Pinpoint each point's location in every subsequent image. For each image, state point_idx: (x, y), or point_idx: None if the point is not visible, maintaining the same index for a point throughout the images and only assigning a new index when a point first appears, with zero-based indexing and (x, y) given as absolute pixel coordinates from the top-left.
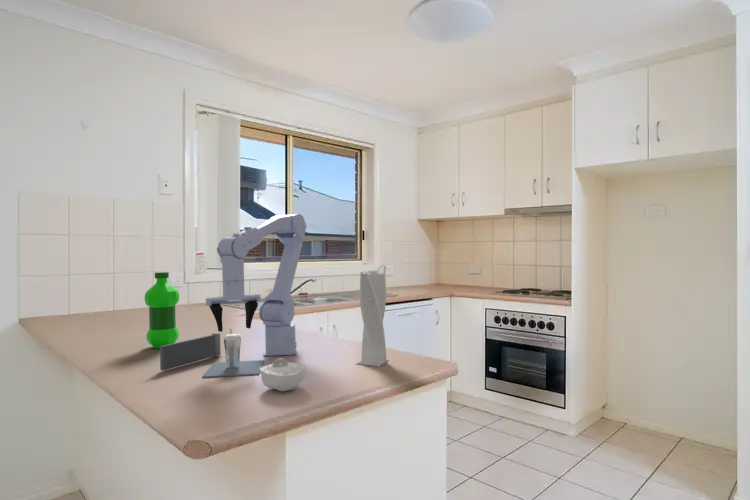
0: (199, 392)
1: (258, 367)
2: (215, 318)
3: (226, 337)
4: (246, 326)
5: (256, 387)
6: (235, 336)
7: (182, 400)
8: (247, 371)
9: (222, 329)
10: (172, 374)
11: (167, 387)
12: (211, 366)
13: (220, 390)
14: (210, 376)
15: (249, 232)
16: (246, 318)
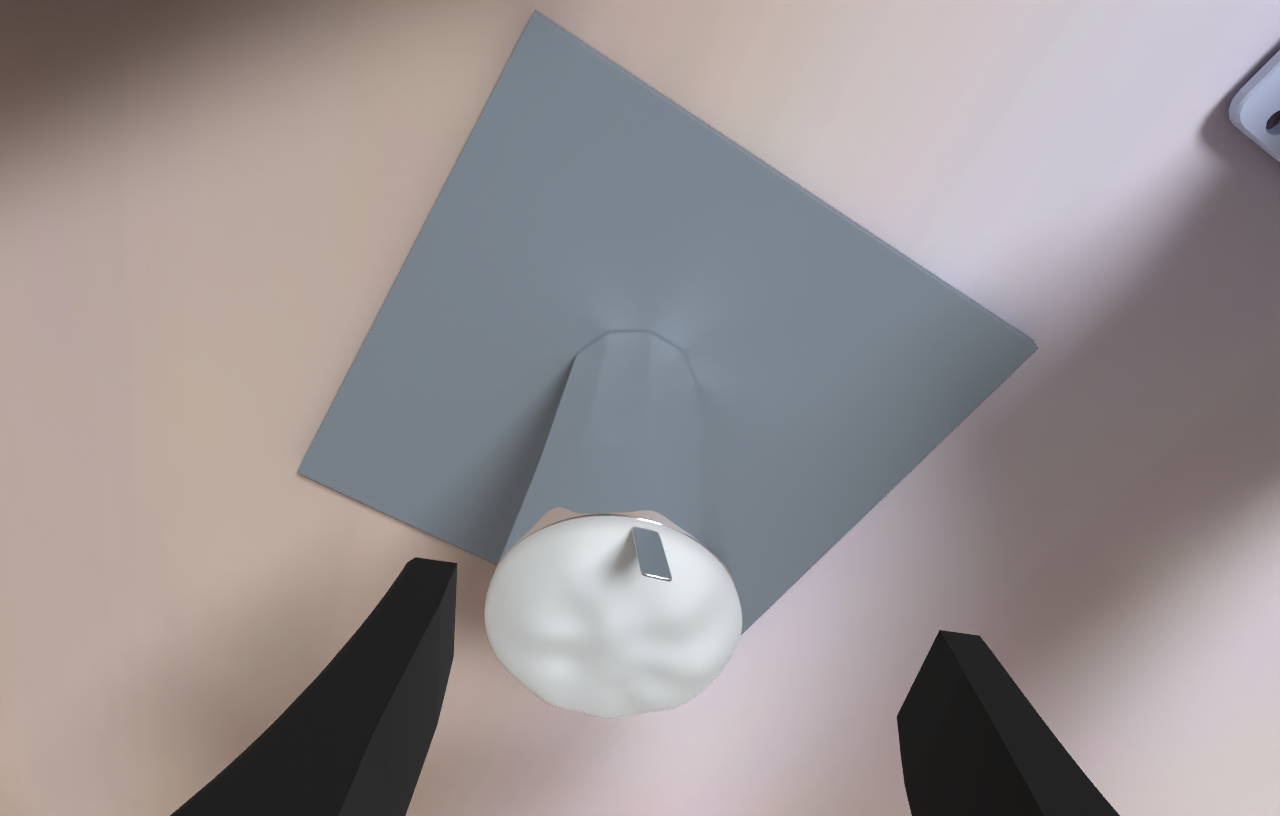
0: (244, 710)
1: (809, 538)
2: (271, 750)
3: (502, 664)
4: (936, 667)
5: (569, 811)
6: (615, 717)
7: (141, 757)
8: None
9: (443, 695)
10: (18, 148)
11: (23, 511)
12: (451, 195)
13: None
14: (365, 499)
15: None
16: (999, 798)
